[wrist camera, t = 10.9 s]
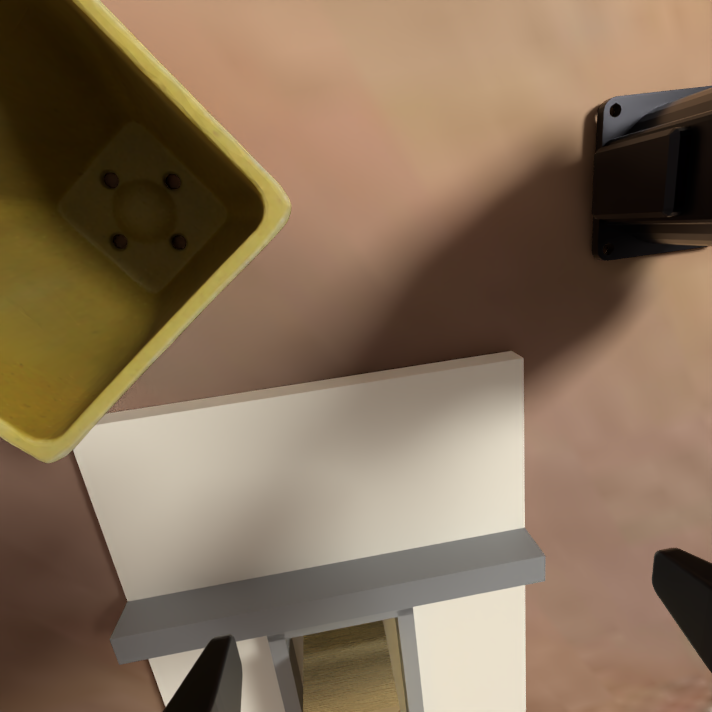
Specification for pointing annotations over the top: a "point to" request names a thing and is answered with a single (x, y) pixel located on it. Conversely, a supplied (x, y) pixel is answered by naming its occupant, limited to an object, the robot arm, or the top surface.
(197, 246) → the flower pot
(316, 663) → the bar
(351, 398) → the board
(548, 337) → the top surface
